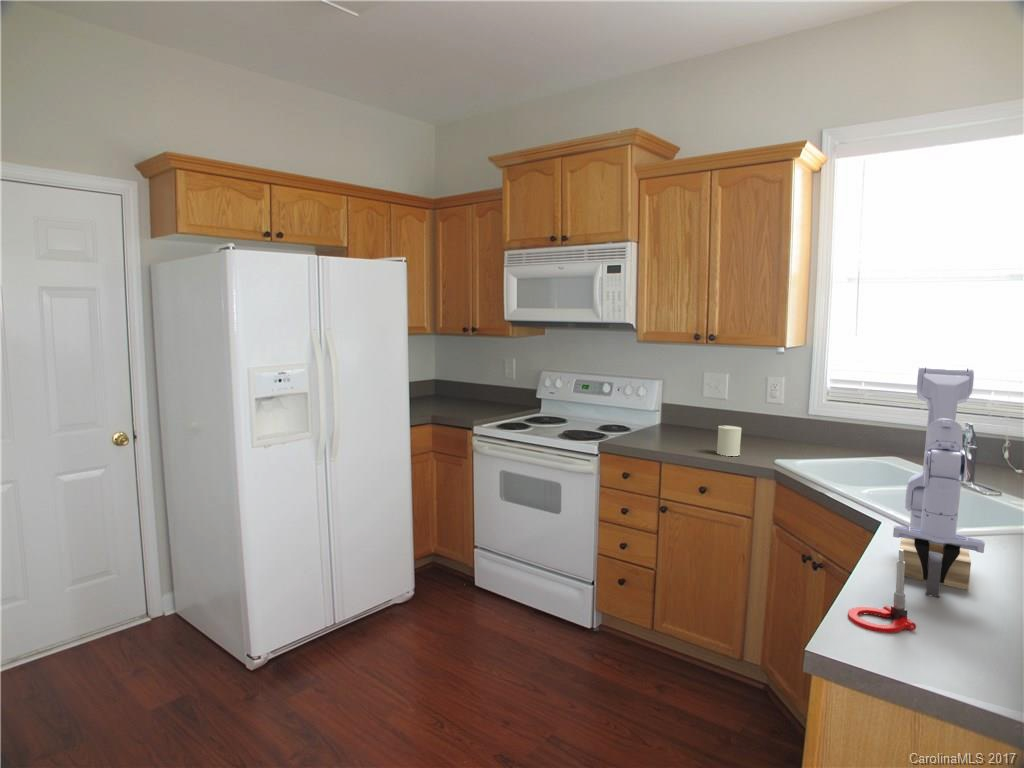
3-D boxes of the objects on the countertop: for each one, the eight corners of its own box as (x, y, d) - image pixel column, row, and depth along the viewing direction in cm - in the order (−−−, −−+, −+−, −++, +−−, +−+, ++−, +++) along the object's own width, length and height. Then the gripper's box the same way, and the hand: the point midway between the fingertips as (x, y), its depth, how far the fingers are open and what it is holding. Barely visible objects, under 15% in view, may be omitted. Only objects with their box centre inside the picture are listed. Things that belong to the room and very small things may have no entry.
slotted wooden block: (899, 559, 140) (901, 535, 139) (965, 572, 133) (967, 547, 133) (897, 574, 131) (899, 549, 130) (968, 589, 124) (971, 562, 124)
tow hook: (867, 636, 104) (920, 633, 105) (870, 560, 103) (923, 558, 104) (837, 614, 112) (886, 611, 113) (839, 543, 111) (889, 541, 112)
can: (722, 451, 264) (724, 423, 263) (743, 455, 258) (745, 426, 257) (712, 454, 257) (714, 425, 256) (733, 458, 251) (735, 428, 250)
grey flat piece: (926, 584, 126) (929, 551, 125) (938, 587, 125) (941, 553, 124) (926, 596, 120) (929, 561, 119) (938, 599, 119) (942, 563, 118)
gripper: (895, 509, 122) (889, 577, 123) (988, 524, 114) (981, 596, 115) (896, 501, 128) (890, 566, 129) (985, 515, 120) (978, 584, 121)
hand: (933, 579), depth 122 cm, fingers closed on grey flat piece, 2 cm apart
